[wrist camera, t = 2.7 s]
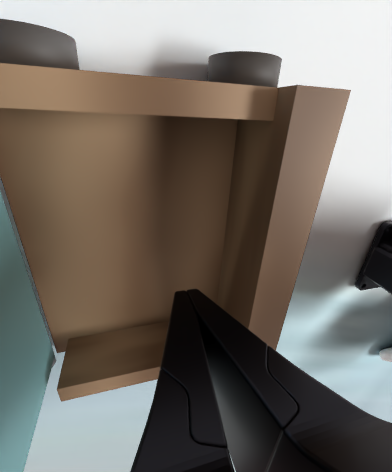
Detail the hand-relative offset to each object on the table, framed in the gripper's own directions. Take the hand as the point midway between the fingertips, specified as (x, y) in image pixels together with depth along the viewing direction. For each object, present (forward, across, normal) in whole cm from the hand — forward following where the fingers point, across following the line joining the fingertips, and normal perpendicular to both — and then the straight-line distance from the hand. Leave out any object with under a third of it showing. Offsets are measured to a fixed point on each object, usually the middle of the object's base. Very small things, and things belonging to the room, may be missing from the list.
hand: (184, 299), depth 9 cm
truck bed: (+6, +1, 0) cm, 6 cm away
